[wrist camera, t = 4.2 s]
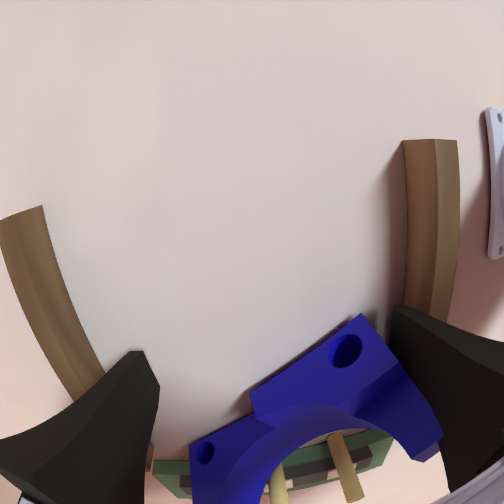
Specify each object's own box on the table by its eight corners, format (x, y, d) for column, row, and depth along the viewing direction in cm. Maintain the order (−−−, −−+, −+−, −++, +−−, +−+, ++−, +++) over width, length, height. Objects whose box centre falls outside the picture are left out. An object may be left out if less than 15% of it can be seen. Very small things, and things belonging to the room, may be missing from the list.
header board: (391, 414, 14) (422, 469, 9) (377, 454, 16) (397, 500, 11) (148, 453, 14) (138, 514, 9) (179, 486, 15) (175, 535, 11)
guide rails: (424, 140, 9) (456, 140, 7) (399, 403, 14) (412, 425, 12) (23, 212, 9) (-6, 223, 7) (137, 446, 13) (132, 470, 11)
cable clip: (361, 312, 11) (444, 425, 5) (393, 356, 12) (452, 441, 7) (168, 436, 12) (171, 531, 7) (225, 457, 14) (238, 536, 9)
